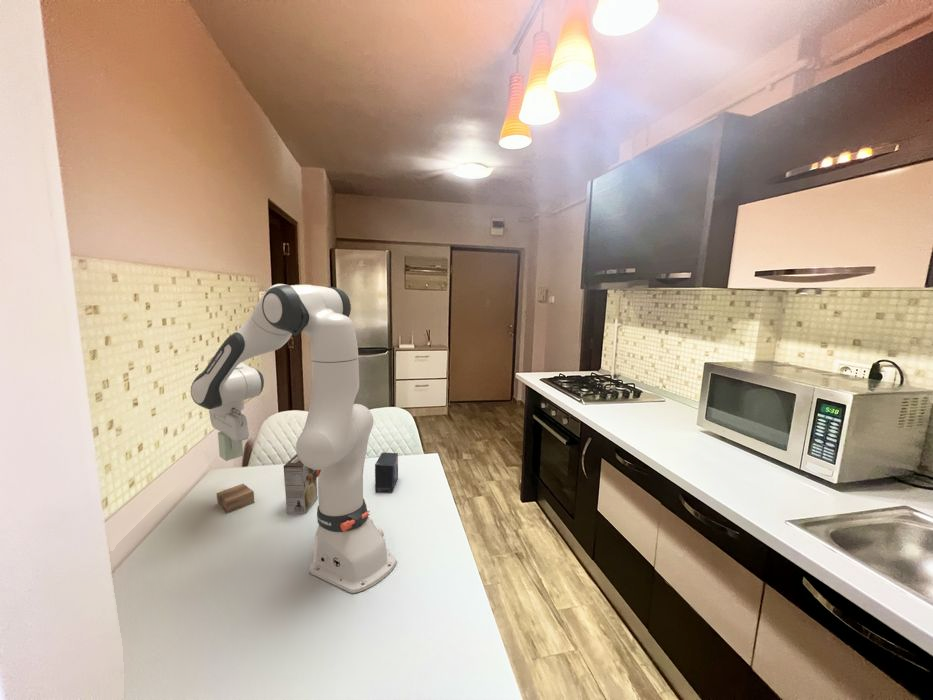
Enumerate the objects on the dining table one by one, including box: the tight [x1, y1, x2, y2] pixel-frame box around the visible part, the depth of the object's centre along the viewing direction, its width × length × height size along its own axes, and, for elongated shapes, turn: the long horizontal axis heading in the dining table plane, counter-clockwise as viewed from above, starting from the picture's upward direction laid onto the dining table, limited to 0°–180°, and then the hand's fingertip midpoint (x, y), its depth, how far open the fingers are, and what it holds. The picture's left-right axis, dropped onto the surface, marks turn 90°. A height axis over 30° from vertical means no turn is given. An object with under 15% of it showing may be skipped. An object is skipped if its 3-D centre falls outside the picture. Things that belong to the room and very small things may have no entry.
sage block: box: [217, 431, 244, 462], centre depth 121 cm, size 5×5×8 cm
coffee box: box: [283, 453, 318, 515], centre depth 122 cm, size 9×6×16 cm
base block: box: [216, 483, 255, 514], centre depth 124 cm, size 8×8×4 cm
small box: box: [374, 451, 399, 494], centre depth 136 cm, size 11×6×10 cm, turn 179°
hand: (230, 446), depth 122 cm, fingers closed on sage block, 5 cm apart
